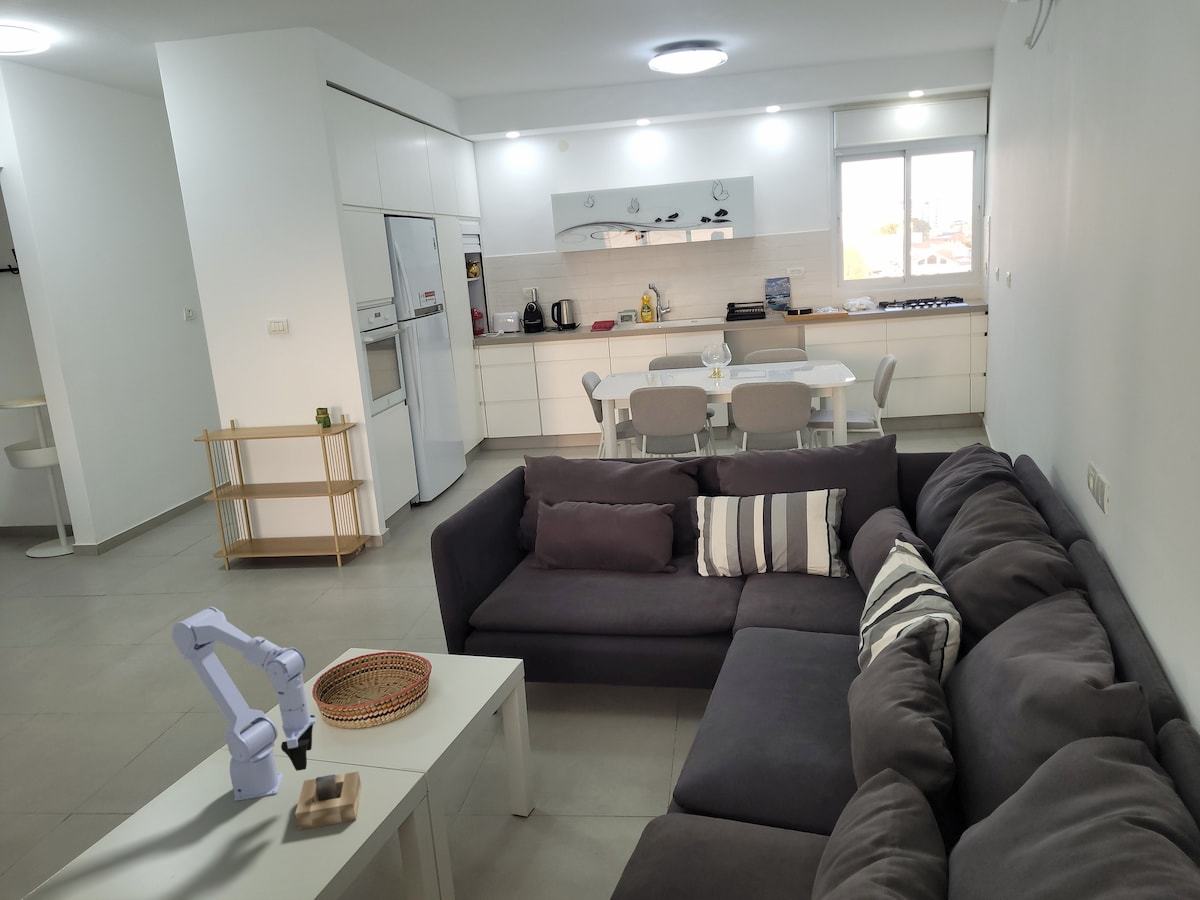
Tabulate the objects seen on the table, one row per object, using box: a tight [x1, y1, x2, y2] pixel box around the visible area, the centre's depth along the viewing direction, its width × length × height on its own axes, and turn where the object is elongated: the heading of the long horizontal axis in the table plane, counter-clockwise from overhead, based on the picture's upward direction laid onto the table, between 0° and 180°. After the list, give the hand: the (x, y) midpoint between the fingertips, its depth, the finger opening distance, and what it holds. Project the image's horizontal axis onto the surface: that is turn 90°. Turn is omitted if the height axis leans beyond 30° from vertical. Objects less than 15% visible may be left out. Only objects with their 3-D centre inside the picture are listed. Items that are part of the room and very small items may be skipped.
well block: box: [294, 771, 362, 831], centre depth 195 cm, size 12×12×4 cm
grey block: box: [315, 774, 340, 801], centre depth 195 cm, size 4×4×7 cm
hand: (303, 759), depth 198 cm, fingers open, 7 cm apart
